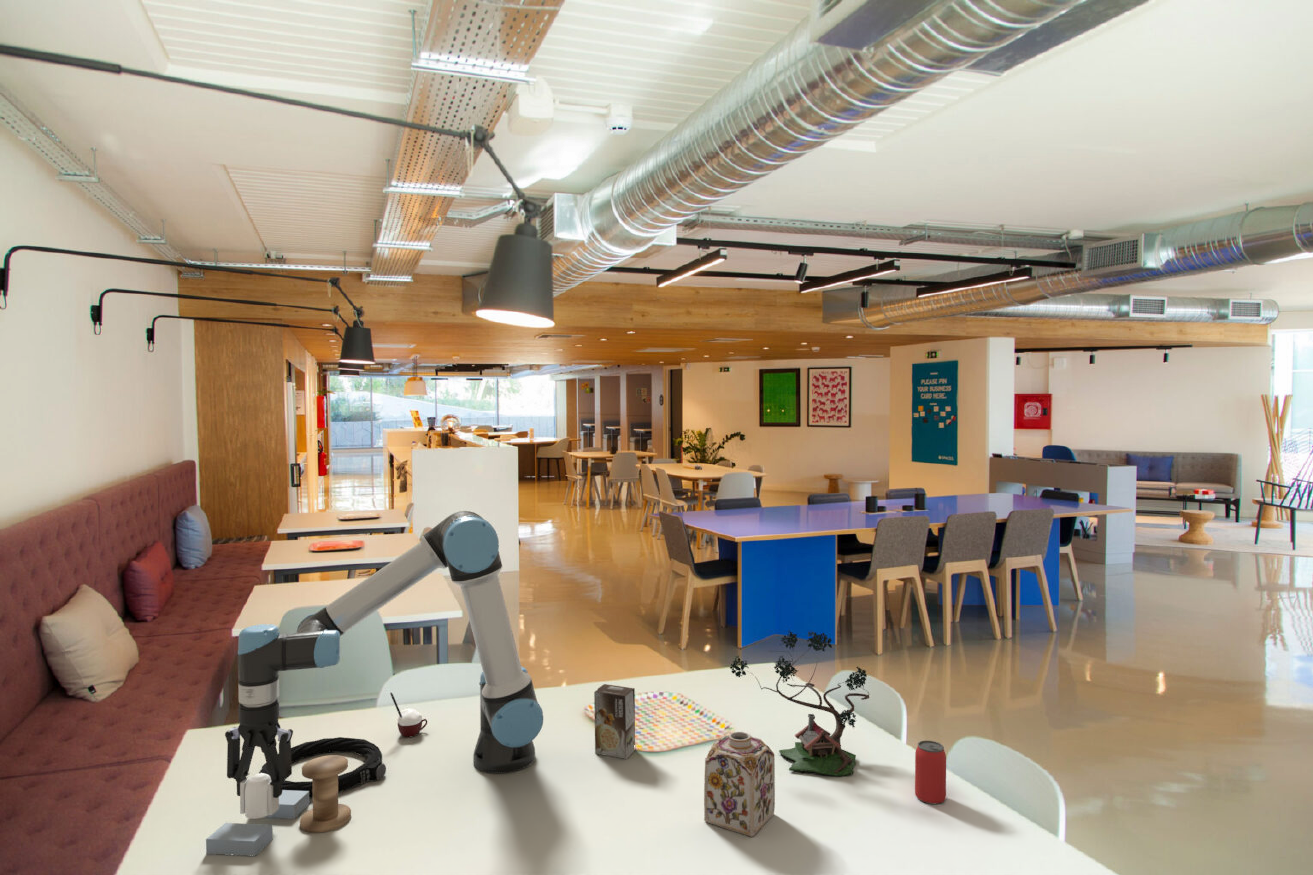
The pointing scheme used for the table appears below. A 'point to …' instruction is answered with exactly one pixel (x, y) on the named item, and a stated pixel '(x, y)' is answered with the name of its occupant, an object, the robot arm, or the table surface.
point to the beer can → (930, 772)
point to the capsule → (257, 796)
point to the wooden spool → (325, 795)
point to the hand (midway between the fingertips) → (259, 810)
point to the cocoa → (409, 721)
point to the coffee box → (614, 721)
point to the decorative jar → (739, 783)
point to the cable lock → (327, 745)
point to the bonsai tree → (816, 742)
